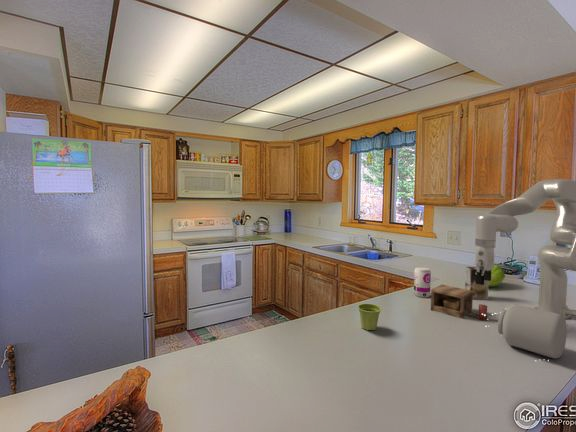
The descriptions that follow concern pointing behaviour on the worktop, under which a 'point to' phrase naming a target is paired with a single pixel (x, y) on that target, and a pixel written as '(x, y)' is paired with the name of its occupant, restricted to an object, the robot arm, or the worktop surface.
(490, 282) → the lettuce
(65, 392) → the worktop surface
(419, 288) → the supplement can
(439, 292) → the open wooden crate
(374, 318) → the plant pot
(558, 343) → the jar
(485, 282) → the coffee box
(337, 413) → the worktop surface
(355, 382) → the worktop surface
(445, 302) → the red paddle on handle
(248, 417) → the worktop surface
